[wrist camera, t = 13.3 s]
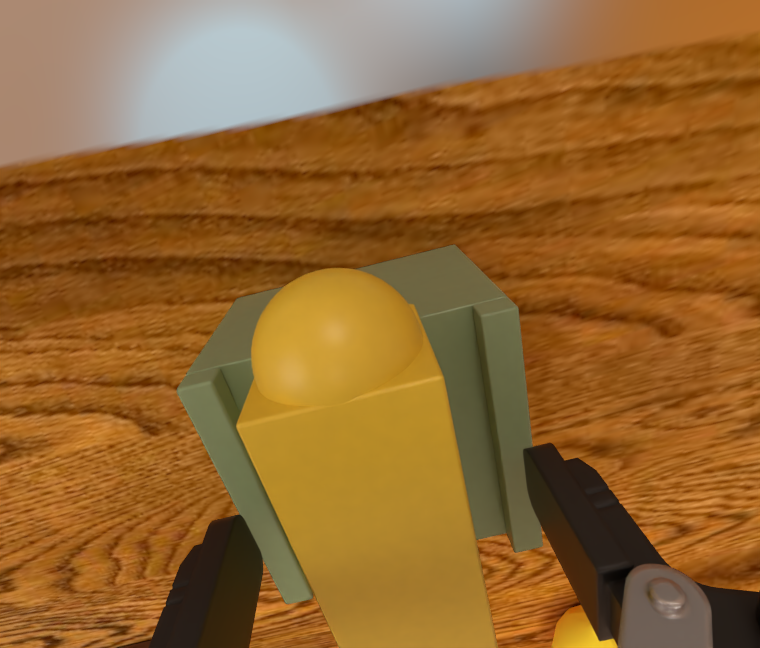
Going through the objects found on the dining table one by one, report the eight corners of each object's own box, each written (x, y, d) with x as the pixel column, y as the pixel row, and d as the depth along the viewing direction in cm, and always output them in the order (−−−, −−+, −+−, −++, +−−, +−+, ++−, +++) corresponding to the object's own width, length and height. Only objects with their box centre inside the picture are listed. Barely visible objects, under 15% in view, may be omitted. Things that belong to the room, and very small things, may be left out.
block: (236, 297, 17) (174, 390, 11) (454, 243, 17) (519, 306, 11) (303, 465, 21) (285, 605, 15) (483, 423, 20) (544, 547, 14)
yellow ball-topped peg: (241, 271, 11) (190, 337, 7) (398, 232, 10) (425, 278, 7) (372, 609, 16) (380, 738, 13) (475, 586, 16) (510, 709, 13)
